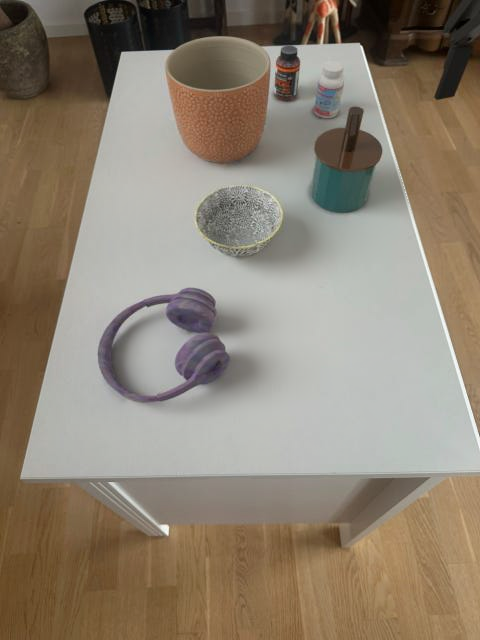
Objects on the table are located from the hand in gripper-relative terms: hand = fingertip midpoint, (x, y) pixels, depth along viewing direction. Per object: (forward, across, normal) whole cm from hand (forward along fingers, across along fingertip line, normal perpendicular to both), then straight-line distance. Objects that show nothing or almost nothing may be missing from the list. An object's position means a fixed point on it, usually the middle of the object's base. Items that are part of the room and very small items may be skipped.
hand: (471, 124), depth 58 cm
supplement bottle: (+29, -60, -2) cm, 67 cm away
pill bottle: (+29, -50, +5) cm, 58 cm away
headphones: (+29, +5, -47) cm, 55 cm away
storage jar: (+29, -22, -4) cm, 36 cm away
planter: (+29, -45, -23) cm, 58 cm away
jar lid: (+18, -22, -4) cm, 29 cm away
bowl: (+29, -15, -28) cm, 43 cm away
